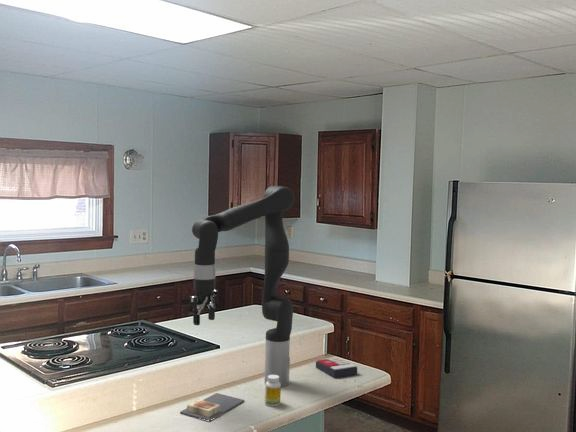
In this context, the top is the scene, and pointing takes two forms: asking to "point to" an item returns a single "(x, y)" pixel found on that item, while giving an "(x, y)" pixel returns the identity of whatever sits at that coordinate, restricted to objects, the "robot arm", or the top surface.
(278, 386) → the supplement bottle
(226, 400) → the mat
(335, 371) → the red and black box
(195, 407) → the wooden block
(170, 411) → the top surface
